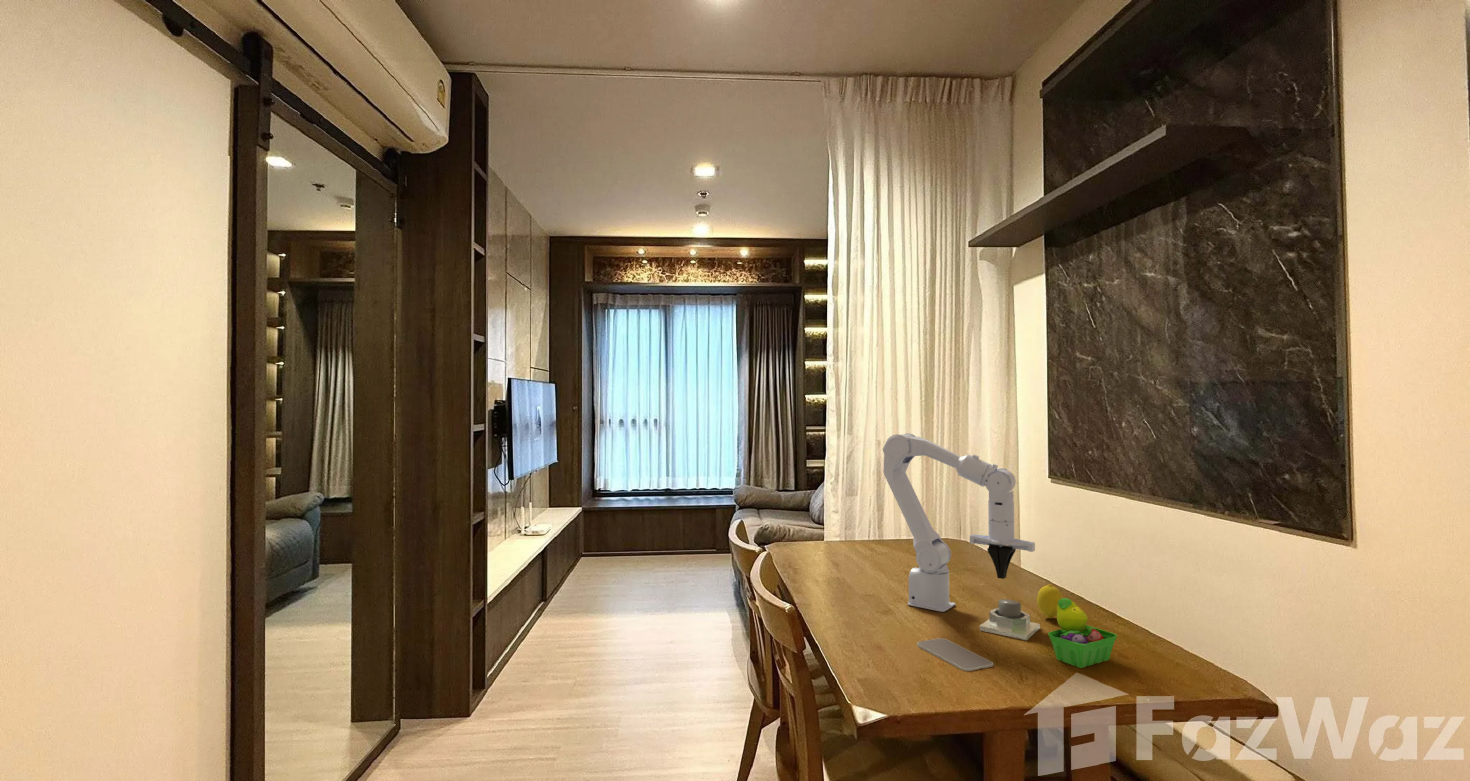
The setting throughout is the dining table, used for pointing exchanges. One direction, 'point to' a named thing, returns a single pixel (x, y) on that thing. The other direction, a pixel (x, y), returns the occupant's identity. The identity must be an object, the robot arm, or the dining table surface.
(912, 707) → the dining table surface
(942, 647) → the smartphone
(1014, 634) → the octagonal socket plate
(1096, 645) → the fruit basket
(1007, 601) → the cylindrical peg
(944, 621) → the dining table surface
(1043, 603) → the lemon
